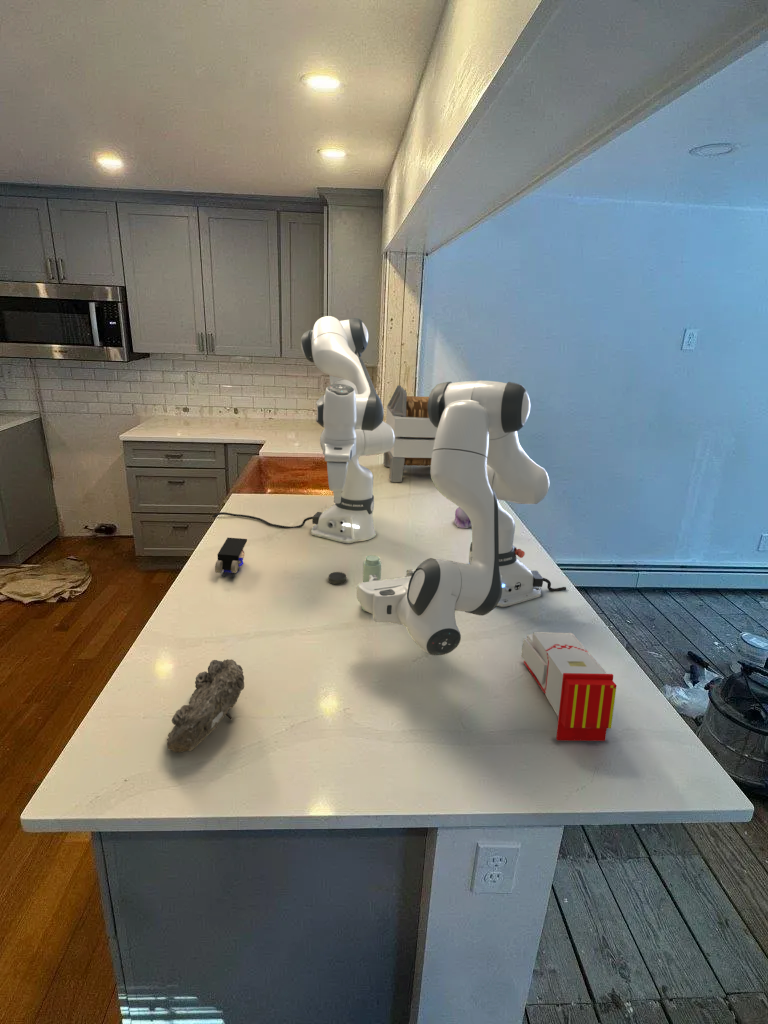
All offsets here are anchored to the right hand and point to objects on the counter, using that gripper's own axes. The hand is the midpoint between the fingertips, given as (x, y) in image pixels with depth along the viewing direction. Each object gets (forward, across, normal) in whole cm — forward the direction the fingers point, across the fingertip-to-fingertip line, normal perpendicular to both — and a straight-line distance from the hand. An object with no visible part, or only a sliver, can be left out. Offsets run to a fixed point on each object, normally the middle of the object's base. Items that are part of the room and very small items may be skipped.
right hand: (390, 574), depth 134 cm
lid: (+30, +5, +15) cm, 34 cm away
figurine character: (+44, +33, +16) cm, 58 cm away
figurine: (+62, -53, +17) cm, 83 cm away
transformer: (+130, -64, +18) cm, 146 cm away
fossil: (-19, +43, +15) cm, 49 cm away
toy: (-33, -26, +16) cm, 45 cm away
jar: (+12, 0, +16) cm, 20 cm away
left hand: (+30, +5, -10) cm, 32 cm away
